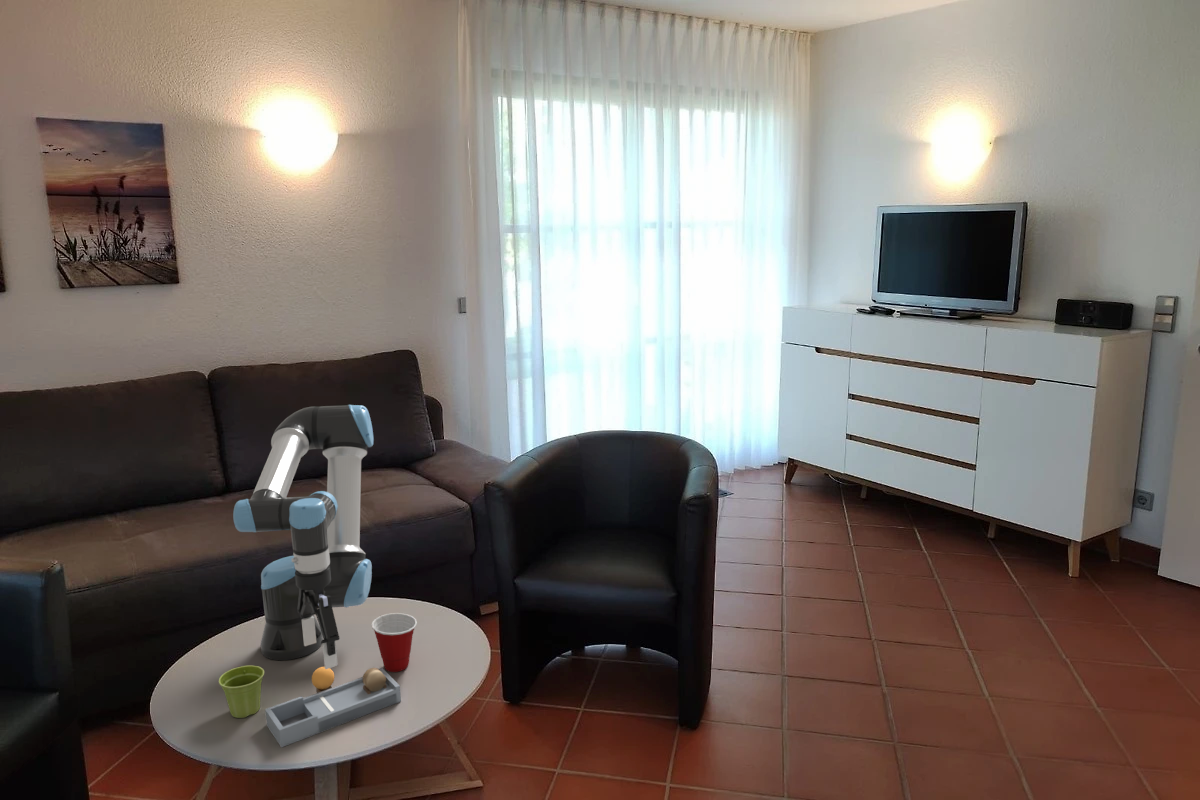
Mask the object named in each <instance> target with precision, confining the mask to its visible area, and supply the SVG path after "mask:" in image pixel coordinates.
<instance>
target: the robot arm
mask: <svg viewBox="0 0 1200 800" xmlns="http://www.w3.org/2000/svg"><path fill="white" fill-rule="evenodd" d="M370 416H371V415H370V413H369V410H368V408H367V407H366V406H364V405H358V404H357V405H356V404H355V405H354V404H347V405H325V406H323V405H321V406H315V405H314V406H309V407H303V408H302V409H299V410H297V411H295V412H293V413H292V414H290V415H288V416H287V417H286V418H285V419H284V420H283V421H281V423H280V424H279V425H278V426H277V427H276V429H275V430H274V432H273V435H272V437H271V441H270V445H271V450H270V452H269V455H268V456H267V459H266V462H265V464H264V466H263V469H262V470H261V474H260V476H259V478H258V481H257V483H256V486H255V488H254V490H253V493H252V495H251V497H250V499H249V498H245V499H239V500H238V501H236V503H235V504H234V508H233V512H232V513H233V523H234V526H235V527H234V528H235V529H236V530H237V531H238V532H240V533H258V532H259V533H261V532H274V531H275V532H276V531H289V530H290V535H291V544H292V545H291V546H292V553H293V554H292V555H289V556H286V557H282V558H279V559H277V560H274V561H272V562H270V563H268V564H267V565H266V566H265V567H264V568H263V569H262V571H261V573H260V580H261V581H260V582H261V585H260V589H261V593H262V601H263V602H262V603H263V610H264V611H263V612H264V618H265V622H264V623H265V624H264V628H263V632H262V636H261V640H260V652H261V655H262V656H264V657H265V658H266V659H269V660H274V661H287V660H288V661H289V660H290V661H291V660H295V659H298V658H302V657H306V656H308V655H310V654H312V653H314V652H316V651H317V650H318V649H320V647H321V646H322V654H323V665H324V666H323V667H325V669H328V668H330V669H331V668H334V667H337V666H339V663H338V662H339V661H338V653H337V651H338V650H337V641H339V640H340V635H339V631H338V626H337V623H336V618H335V614H334V610H333V608H349V607H358V606H361V605H363V604H364V603H366V601H367V598H368V597H369V593H370V590H371V583H372V576H373V575H372V574H373V572H372V569H373V566H372V562H371V560H370V559H368V558H366V552H365V551H364V550H363V549H362V548H361V547H360V543H361V542H360V539H361V534H360V533H361V532H360V531H361V493H362V492H361V490H362V489H361V488H362V485H361V483H362V482H361V481H362V460H363V458H364V457H366V456H367V455H368V448H372V447H373V445H374V441H375V439H374V432H373V431H374V430H373V425H372V421H371V420H372V419H371V417H370ZM309 450H322V455H323V457H325V458H326V459H327V481H326V482H327V483H326V484H327V486H326V491H325V490H320V491H319V490H318V491H315V492H313V493H311V494H310V495H308V496H293V497H292V496H291V497H287V496H288V494H289V490H290V488H291V485H292V483H293V479H294V477H295V475H296V473H297V469H298V467H299V465H300V464H299V463H300V462H301V460H302V459H301V458H303V457H304V455H306V454H307V453H308V451H309Z"/></svg>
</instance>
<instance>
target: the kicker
mask: <svg viewBox="0 0 1200 800" xmlns="http://www.w3.org/2000/svg"><path fill="white" fill-rule="evenodd" d="M379 669H380V668H377V667H372V668H368V669H367V670H366V671H365V672H364V673H363V676H362V677H363V678H362V681H363V683H364V685H363V689H364V690H365V691H366V692H367V694H371V691H372V692H376V691H379V690H380V689H382V688H387V687H386V684H385V683H386V677H385V675H384V674H383V673H382V672H381V671H380V670H379Z"/></svg>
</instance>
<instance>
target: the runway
mask: <svg viewBox="0 0 1200 800" xmlns="http://www.w3.org/2000/svg"><path fill="white" fill-rule="evenodd" d="M378 669H379V670H380V671H381V672H382V673H383V674H384V675H385V677H386V683H385V684H386V687H387V688H382V689H380V690H379V691H376V692H372V691H371V694H367V692H366V691H365V690H364V689H363V685H364V683H363V681H362V678H363V676H362V677H359V678H356V679H352V680H350V681H348V682H344V683H342V684H339V685H335V686H334V687H332V688H330V689H327V690H325V691H322V692H319V693H313V694H311V695H308V696H305V697H303V696H298V697H295V698H292V699H290V700H288V701H283V702H282V703H277V704H275V705H273V706H269V707H267V708H265V709H264V713H265V720H266V726H267V728H268V729H269V731H270V733H271V734H272V735H273V737H274V739H275V741H276V742H277V743H278V744H279V746H280V748H283V747H286V746H289V745H292V744H294V743H297V742H299V741H302V740H305V739H307V738H310V737H313V736H314V735H317V734H321V733H322V732H325V731H328V730H331V729H333V728H336V727H338V726H341V725H343V724H346V723H349V722H352V721H353V720H357V719H359V718H361V717H364V716H367V715H369V714H372V713H374V712H377V711H379V710H382V709H384V708H388V707H390V706H393V705H395V704H397V703H401V702H402V698H401V697H402V696H401V685H400V684H399V683H398V682H397V681H396V680H395V679H394V678H393V677H392V676H391V675H390V674H389V673H388V671H387V670H386V669H385V668H383V667H380V668H378Z"/></svg>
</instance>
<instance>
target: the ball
mask: <svg viewBox="0 0 1200 800" xmlns="http://www.w3.org/2000/svg"><path fill="white" fill-rule="evenodd" d="M334 681H335V673H334V671H333V670H332V669H331V668H328V669H325V666H320V667H318V668H317V669H315V670H314V671H313V672H312V674H311V683H312V686H314V687H315V689H316V688H318V689H326V688H328V687H330V686H331V687H332V685H333V684H334Z"/></svg>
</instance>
